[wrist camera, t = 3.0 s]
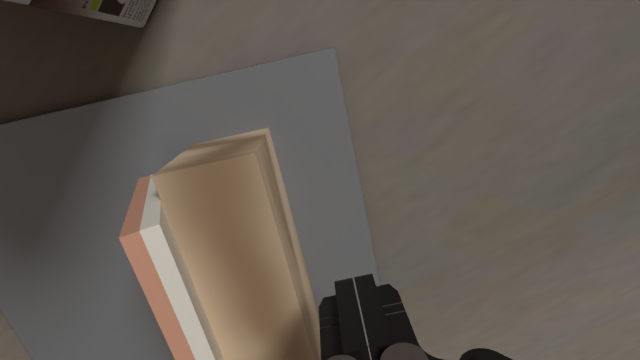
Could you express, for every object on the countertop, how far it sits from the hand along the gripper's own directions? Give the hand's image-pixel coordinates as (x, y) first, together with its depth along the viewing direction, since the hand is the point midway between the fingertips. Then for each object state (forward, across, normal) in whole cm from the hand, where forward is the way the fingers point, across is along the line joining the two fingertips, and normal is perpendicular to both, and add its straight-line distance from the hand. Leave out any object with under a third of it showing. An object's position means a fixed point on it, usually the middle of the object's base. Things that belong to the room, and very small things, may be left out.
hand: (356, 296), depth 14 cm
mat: (+7, +10, 0) cm, 12 cm away
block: (+7, +4, 0) cm, 8 cm away
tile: (+2, +8, 0) cm, 8 cm away
